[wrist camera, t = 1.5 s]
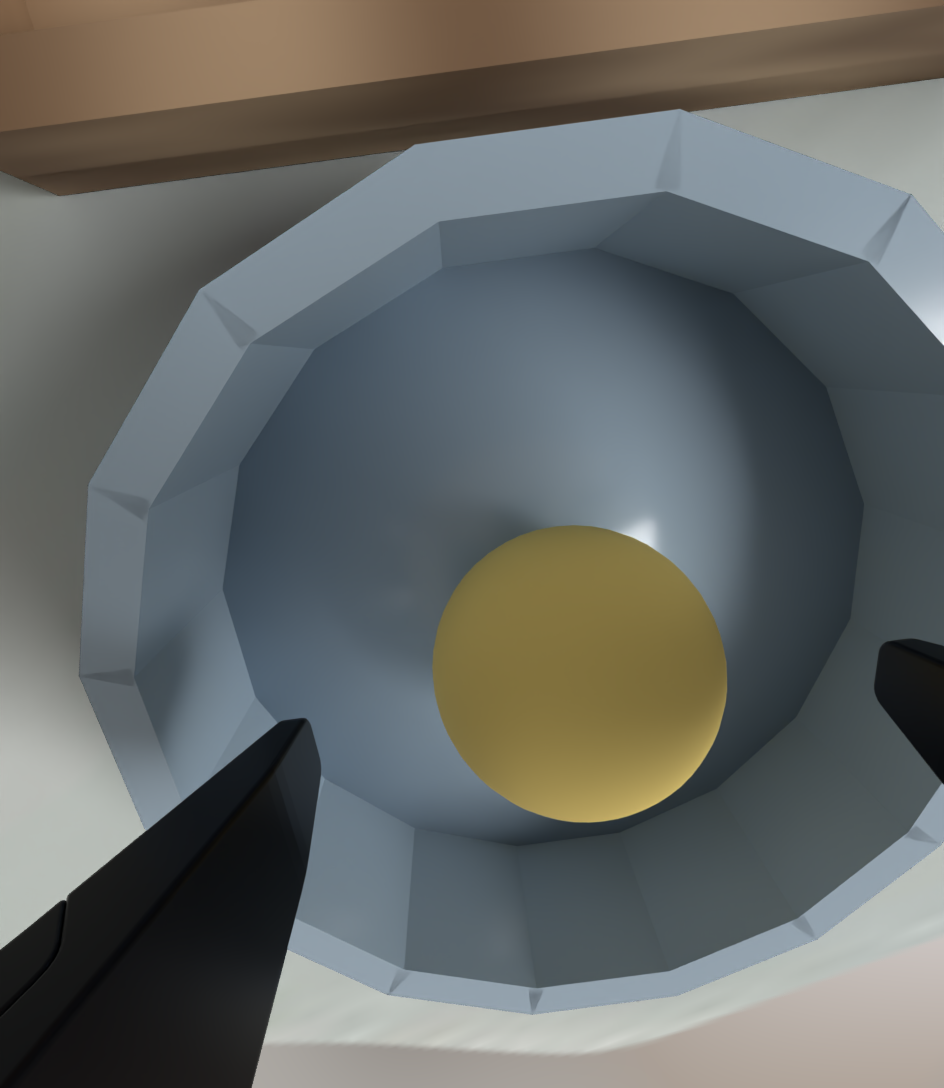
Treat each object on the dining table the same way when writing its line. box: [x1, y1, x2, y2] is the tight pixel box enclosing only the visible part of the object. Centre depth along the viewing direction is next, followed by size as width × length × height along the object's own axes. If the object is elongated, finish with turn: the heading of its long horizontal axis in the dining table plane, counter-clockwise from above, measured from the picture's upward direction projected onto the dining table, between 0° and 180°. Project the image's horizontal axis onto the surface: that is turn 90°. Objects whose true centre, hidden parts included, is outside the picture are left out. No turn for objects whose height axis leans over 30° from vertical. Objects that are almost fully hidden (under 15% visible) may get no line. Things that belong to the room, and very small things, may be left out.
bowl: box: [79, 109, 944, 1015], centre depth 11 cm, size 16×16×4 cm
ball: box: [432, 525, 727, 823], centre depth 10 cm, size 5×5×5 cm
